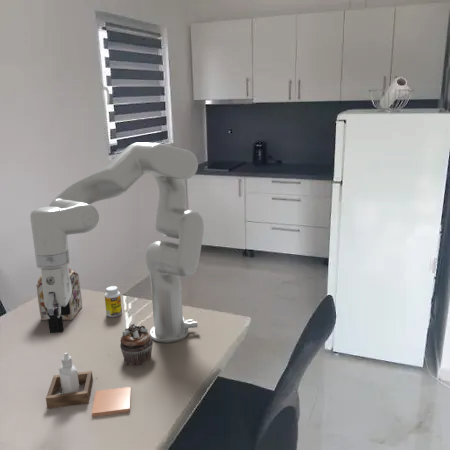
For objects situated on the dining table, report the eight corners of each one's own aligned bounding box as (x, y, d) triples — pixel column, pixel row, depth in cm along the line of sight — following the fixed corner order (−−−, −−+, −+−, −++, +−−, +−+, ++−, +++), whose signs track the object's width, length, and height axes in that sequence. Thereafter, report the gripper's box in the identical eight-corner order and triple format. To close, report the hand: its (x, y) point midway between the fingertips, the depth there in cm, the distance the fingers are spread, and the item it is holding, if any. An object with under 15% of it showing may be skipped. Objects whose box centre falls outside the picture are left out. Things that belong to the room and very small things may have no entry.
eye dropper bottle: (63, 402, 114) (57, 360, 111) (62, 390, 119) (56, 349, 116) (80, 398, 115) (75, 356, 112) (79, 386, 120) (73, 346, 117)
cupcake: (115, 365, 130) (112, 334, 127) (130, 348, 139) (128, 318, 136) (145, 369, 127) (143, 337, 125) (159, 351, 136) (157, 321, 134)
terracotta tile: (131, 389, 118) (130, 386, 118) (129, 411, 109) (129, 408, 109) (96, 394, 117) (95, 390, 116) (92, 416, 108) (91, 413, 108)
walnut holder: (93, 380, 123) (91, 370, 122) (88, 403, 113) (87, 393, 112) (55, 385, 121) (53, 375, 120) (47, 408, 111) (45, 398, 111)
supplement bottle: (111, 319, 158) (108, 292, 156) (103, 314, 162) (100, 288, 160) (125, 313, 162) (122, 287, 159) (117, 309, 166) (114, 283, 163)
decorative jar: (72, 320, 158) (66, 273, 153) (40, 321, 158) (33, 273, 154) (83, 306, 170) (78, 261, 165) (53, 306, 170) (46, 262, 165)
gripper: (62, 269, 100) (70, 338, 104) (74, 247, 116) (81, 307, 120) (27, 271, 98) (36, 341, 103) (44, 249, 115) (52, 310, 119)
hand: (60, 323), depth 111 cm, fingers open, 9 cm apart
